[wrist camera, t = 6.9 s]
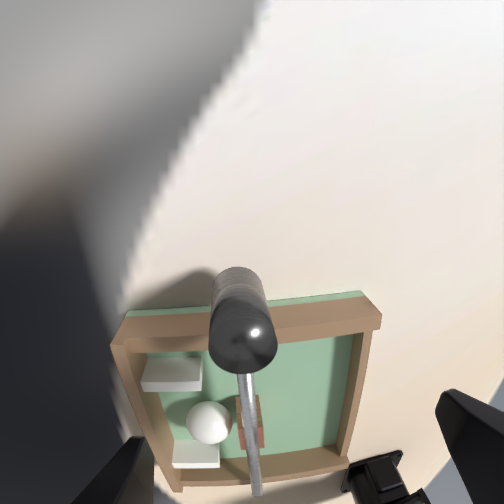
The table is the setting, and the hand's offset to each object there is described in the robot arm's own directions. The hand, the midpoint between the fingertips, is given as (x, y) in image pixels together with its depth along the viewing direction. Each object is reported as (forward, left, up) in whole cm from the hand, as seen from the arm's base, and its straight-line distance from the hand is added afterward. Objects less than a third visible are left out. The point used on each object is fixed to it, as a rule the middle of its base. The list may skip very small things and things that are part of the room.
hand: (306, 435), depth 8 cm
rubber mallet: (-8, +2, -11) cm, 14 cm away
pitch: (-10, +1, -12) cm, 15 cm away
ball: (-10, +4, -9) cm, 14 cm away
